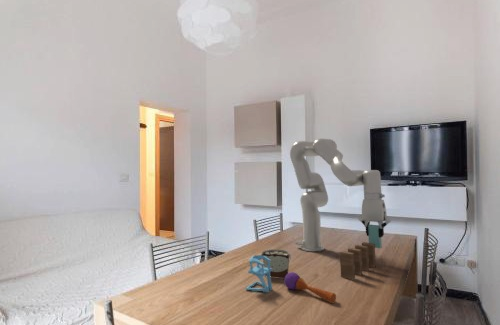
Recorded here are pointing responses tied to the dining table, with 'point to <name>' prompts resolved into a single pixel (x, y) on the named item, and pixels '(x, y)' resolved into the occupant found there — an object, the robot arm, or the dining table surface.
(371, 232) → the teal domino
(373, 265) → the domino
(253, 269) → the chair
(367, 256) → the domino
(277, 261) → the food container
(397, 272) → the dining table surface
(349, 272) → the domino
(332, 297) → the purple and orange maraca
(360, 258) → the domino
